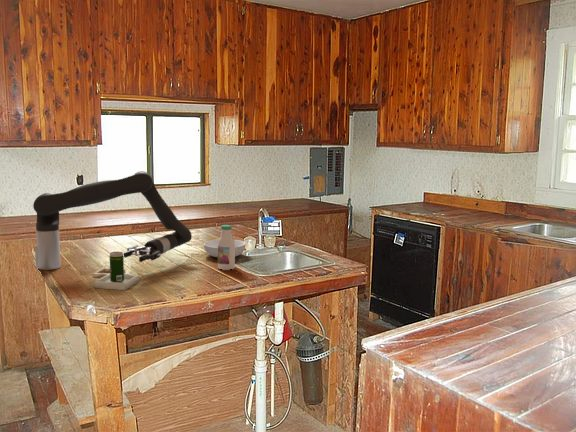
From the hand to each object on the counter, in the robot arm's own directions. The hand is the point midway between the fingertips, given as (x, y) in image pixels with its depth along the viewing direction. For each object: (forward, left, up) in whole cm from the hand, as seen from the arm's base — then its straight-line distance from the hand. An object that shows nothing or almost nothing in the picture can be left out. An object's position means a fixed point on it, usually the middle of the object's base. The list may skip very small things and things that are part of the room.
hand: (132, 257), depth 229 cm
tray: (-2, -11, -9) cm, 14 cm away
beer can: (-2, -10, -8) cm, 13 cm away
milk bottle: (+34, +24, -9) cm, 43 cm away
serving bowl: (+27, +47, -9) cm, 56 cm away
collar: (-12, +2, -9) cm, 15 cm away
